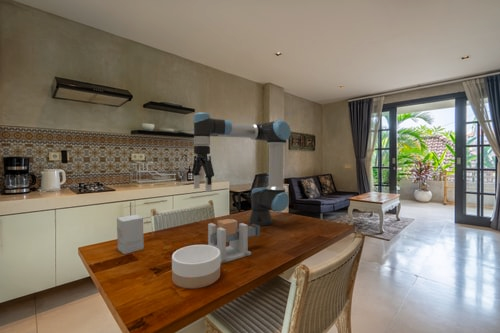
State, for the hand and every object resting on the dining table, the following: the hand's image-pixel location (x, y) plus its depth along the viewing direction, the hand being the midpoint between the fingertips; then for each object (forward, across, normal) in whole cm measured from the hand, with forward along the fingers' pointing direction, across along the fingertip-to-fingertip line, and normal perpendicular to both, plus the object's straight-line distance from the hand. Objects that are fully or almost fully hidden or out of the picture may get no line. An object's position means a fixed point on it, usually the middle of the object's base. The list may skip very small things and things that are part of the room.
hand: (202, 190), depth 114 cm
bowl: (+28, +26, -14) cm, 40 cm away
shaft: (+21, +16, +9) cm, 28 cm away
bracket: (+27, +16, +4) cm, 32 cm away
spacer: (+17, +16, +4) cm, 24 cm away
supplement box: (+27, -15, -29) cm, 43 cm away
